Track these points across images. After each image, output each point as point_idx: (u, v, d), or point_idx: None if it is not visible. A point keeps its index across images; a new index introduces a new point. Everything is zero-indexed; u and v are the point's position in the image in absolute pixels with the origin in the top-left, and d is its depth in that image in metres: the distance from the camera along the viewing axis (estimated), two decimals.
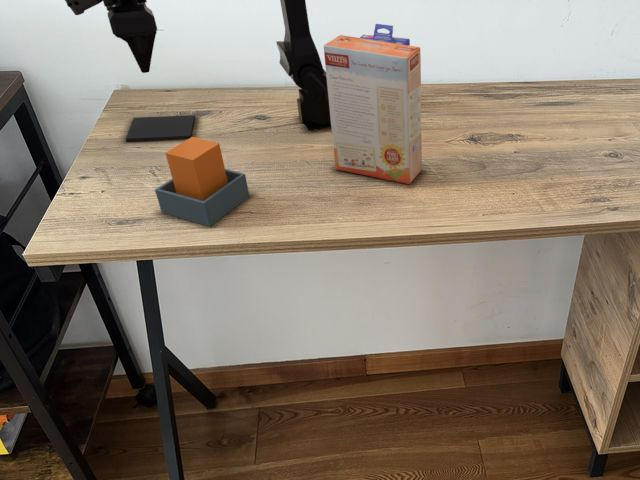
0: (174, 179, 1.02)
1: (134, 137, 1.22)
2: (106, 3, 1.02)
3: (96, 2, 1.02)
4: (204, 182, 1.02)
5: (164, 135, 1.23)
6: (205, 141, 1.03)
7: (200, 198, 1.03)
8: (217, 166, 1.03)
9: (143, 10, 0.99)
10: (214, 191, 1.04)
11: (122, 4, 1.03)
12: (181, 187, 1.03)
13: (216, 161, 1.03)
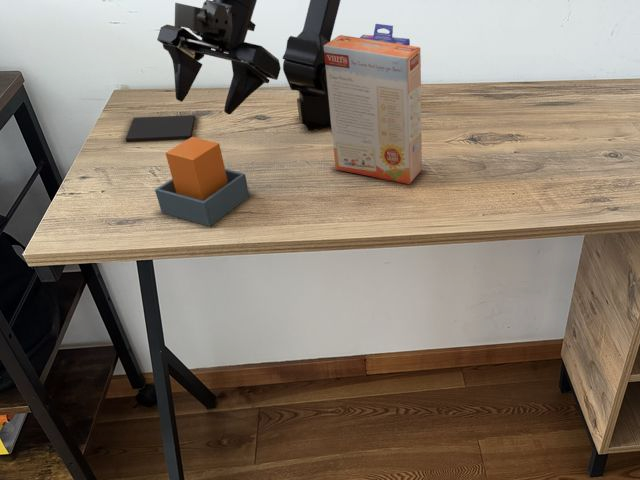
0: (174, 179, 1.02)
1: (134, 137, 1.22)
2: (225, 37, 0.99)
3: (217, 31, 0.97)
4: (204, 182, 1.02)
5: (164, 135, 1.23)
6: (205, 141, 1.03)
7: (200, 198, 1.03)
8: (217, 166, 1.03)
9: (276, 58, 1.01)
10: (214, 191, 1.04)
11: (233, 46, 1.01)
12: (181, 187, 1.03)
13: (216, 161, 1.03)
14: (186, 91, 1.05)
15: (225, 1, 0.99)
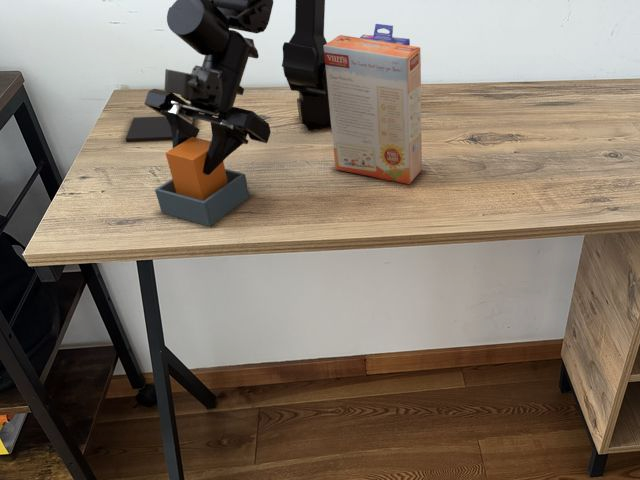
0: (174, 179, 1.02)
1: (134, 137, 1.22)
2: (215, 102, 0.99)
3: (207, 97, 0.97)
4: (204, 182, 1.02)
5: (164, 135, 1.23)
6: (205, 141, 1.03)
7: (200, 198, 1.03)
8: (217, 166, 1.03)
9: (266, 122, 1.02)
10: (214, 191, 1.04)
11: (223, 111, 1.01)
12: (181, 187, 1.03)
13: None
14: None
15: (215, 67, 0.99)
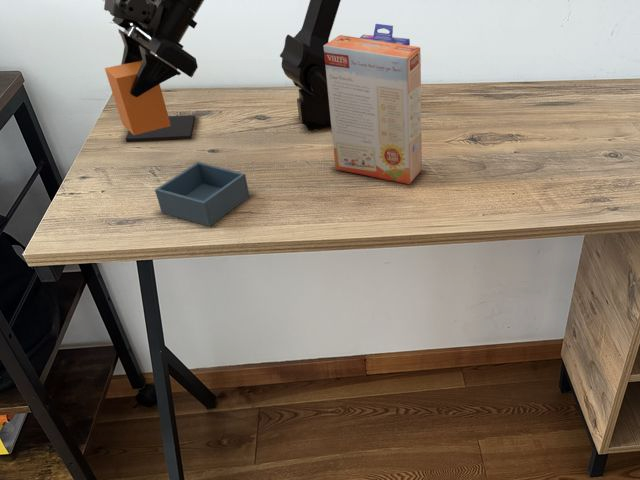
0: (114, 96, 1.07)
1: (134, 137, 1.22)
2: (150, 28, 1.00)
3: (141, 20, 1.00)
4: (131, 103, 1.05)
5: (164, 135, 1.23)
6: None
7: (127, 118, 1.06)
8: (151, 92, 1.06)
9: None
10: (146, 115, 1.07)
11: None
12: (118, 105, 1.07)
13: None
14: None
15: None
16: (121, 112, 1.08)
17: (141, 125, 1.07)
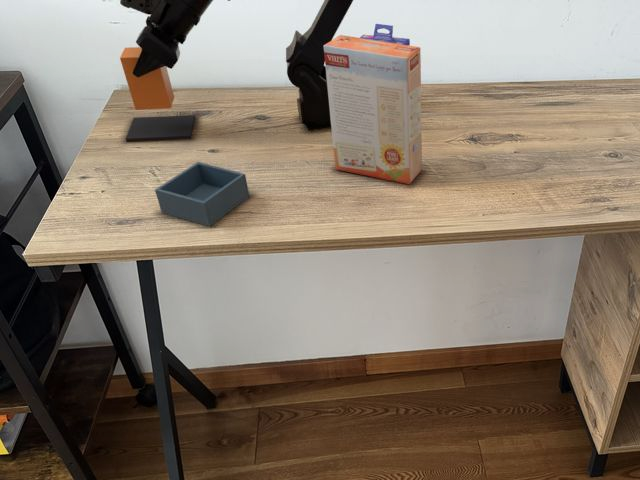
0: None
1: (134, 137, 1.22)
2: (151, 19, 1.11)
3: (144, 11, 1.11)
4: (134, 82, 1.17)
5: (164, 135, 1.23)
6: None
7: (131, 94, 1.19)
8: (153, 75, 1.17)
9: (173, 50, 1.10)
10: (147, 95, 1.19)
11: (162, 30, 1.13)
12: None
13: None
14: None
15: None
16: None
17: (142, 102, 1.20)
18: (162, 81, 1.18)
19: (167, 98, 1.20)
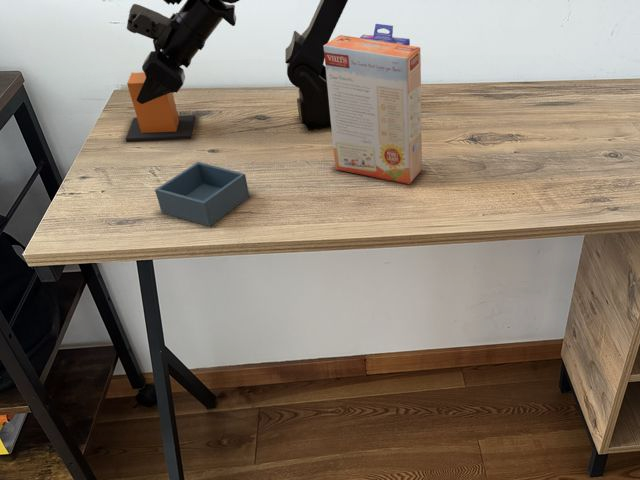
0: None
1: (134, 137, 1.22)
2: (157, 43, 1.14)
3: (150, 36, 1.13)
4: (140, 106, 1.20)
5: (164, 135, 1.23)
6: None
7: None
8: (159, 100, 1.20)
9: (178, 75, 1.12)
10: (153, 118, 1.22)
11: (168, 54, 1.15)
12: None
13: None
14: None
15: (176, 17, 1.13)
16: None
17: (148, 126, 1.23)
18: (168, 105, 1.21)
19: (172, 122, 1.23)
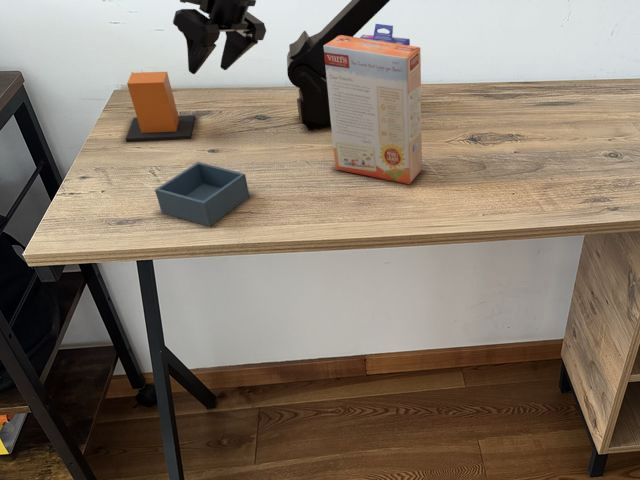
0: None
1: (134, 137, 1.22)
2: (201, 8, 1.13)
3: (196, 2, 1.13)
4: (140, 106, 1.20)
5: (164, 135, 1.23)
6: (161, 77, 1.20)
7: None
8: (159, 100, 1.20)
9: (202, 23, 1.08)
10: (153, 118, 1.22)
11: (211, 17, 1.13)
12: None
13: (158, 95, 1.20)
14: (228, 62, 1.23)
15: None
16: None
17: (148, 126, 1.23)
18: (168, 105, 1.21)
19: (172, 122, 1.23)
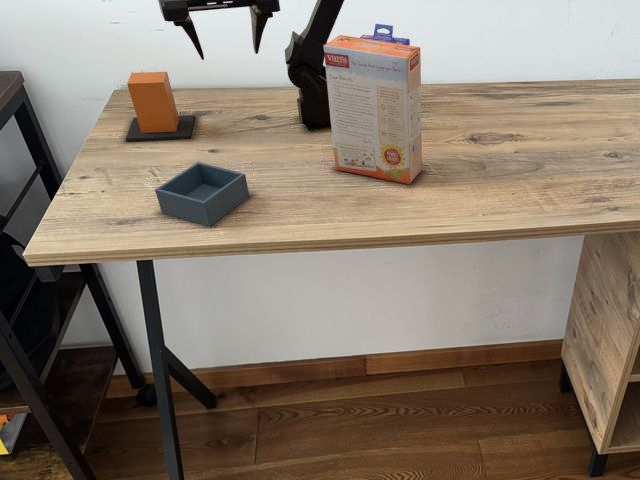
0: None
1: (134, 137, 1.22)
2: None
3: None
4: (140, 106, 1.20)
5: (164, 135, 1.23)
6: (161, 77, 1.20)
7: None
8: (159, 100, 1.20)
9: (163, 0, 1.09)
10: (153, 118, 1.22)
11: None
12: None
13: (158, 95, 1.20)
14: (254, 44, 1.19)
15: None
16: None
17: (148, 126, 1.23)
18: (168, 105, 1.21)
19: (172, 122, 1.23)
